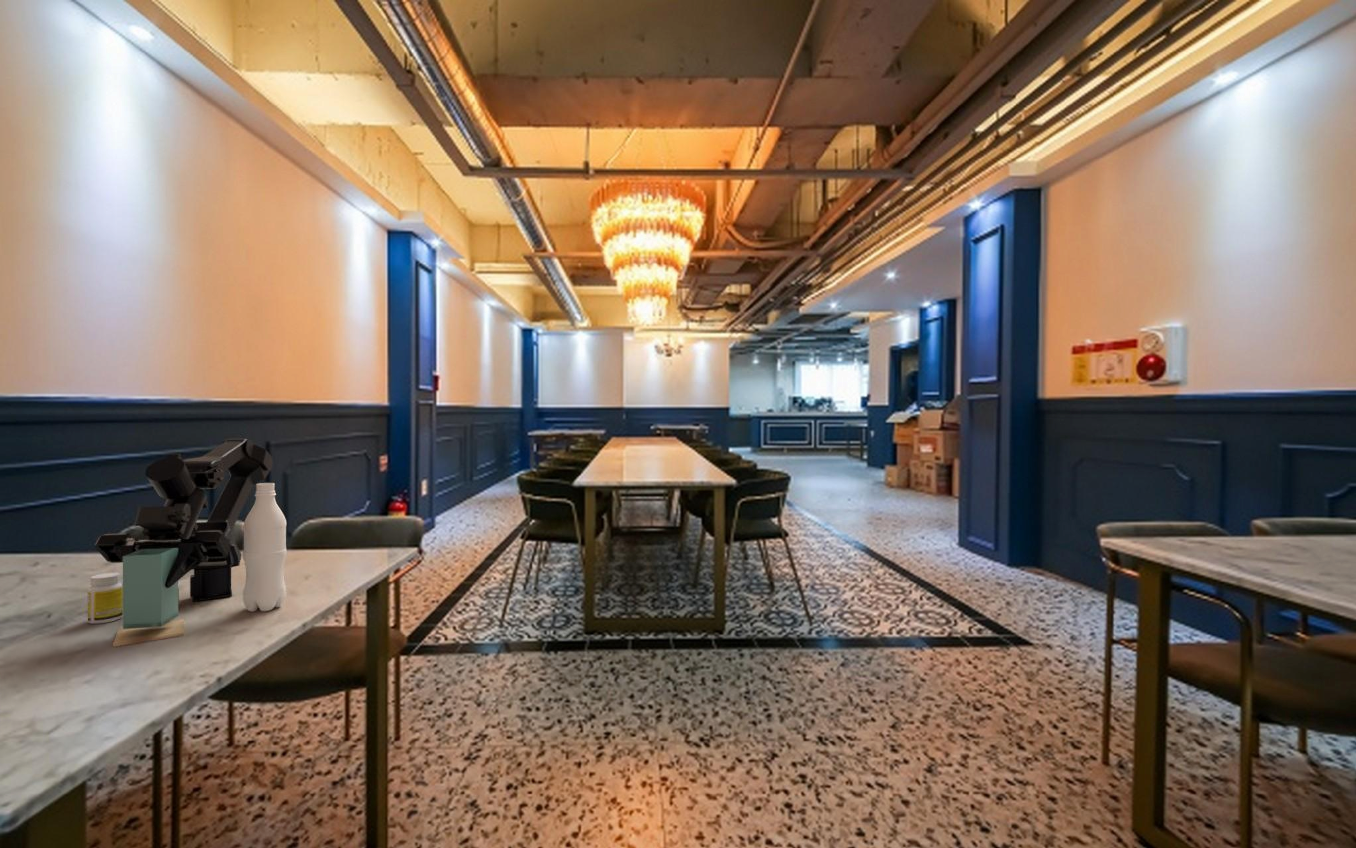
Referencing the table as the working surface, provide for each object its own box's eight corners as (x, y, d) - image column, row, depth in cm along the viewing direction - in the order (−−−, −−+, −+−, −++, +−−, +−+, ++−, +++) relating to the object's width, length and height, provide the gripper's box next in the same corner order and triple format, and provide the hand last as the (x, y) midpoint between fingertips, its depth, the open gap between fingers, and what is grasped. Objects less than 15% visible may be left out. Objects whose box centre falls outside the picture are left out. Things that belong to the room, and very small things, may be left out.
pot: (141, 618, 108) (141, 549, 108) (178, 616, 109) (178, 547, 109) (122, 629, 103) (122, 556, 102) (161, 626, 104) (161, 554, 104)
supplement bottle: (129, 616, 114) (129, 572, 114) (103, 625, 110) (103, 579, 110) (106, 615, 115) (107, 571, 115) (80, 623, 110) (80, 578, 110)
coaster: (184, 621, 112) (184, 619, 112) (183, 635, 105) (183, 633, 105) (118, 631, 106) (118, 629, 106) (113, 647, 99) (113, 644, 99)
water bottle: (264, 615, 116) (264, 486, 116) (233, 612, 118) (234, 485, 117) (294, 604, 123) (295, 482, 123) (265, 601, 125) (266, 481, 124)
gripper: (101, 489, 107) (56, 566, 96) (223, 487, 112) (193, 560, 101) (128, 525, 114) (89, 600, 104) (241, 521, 120) (215, 593, 109)
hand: (146, 587), depth 104 cm, fingers closed on pot, 5 cm apart
